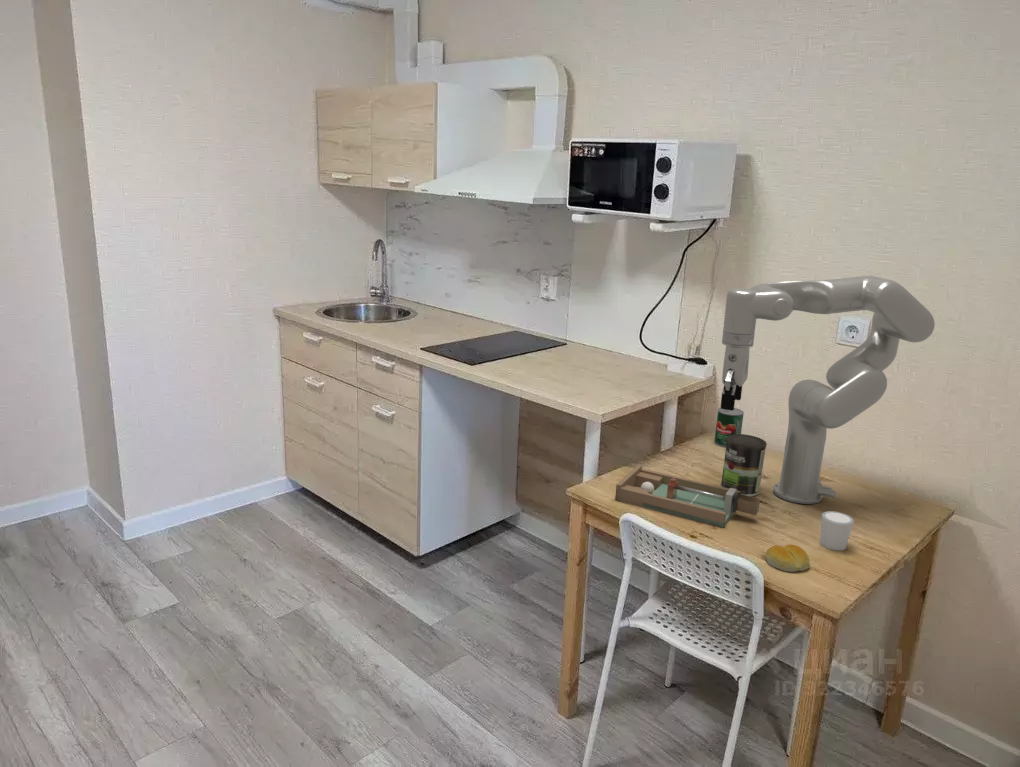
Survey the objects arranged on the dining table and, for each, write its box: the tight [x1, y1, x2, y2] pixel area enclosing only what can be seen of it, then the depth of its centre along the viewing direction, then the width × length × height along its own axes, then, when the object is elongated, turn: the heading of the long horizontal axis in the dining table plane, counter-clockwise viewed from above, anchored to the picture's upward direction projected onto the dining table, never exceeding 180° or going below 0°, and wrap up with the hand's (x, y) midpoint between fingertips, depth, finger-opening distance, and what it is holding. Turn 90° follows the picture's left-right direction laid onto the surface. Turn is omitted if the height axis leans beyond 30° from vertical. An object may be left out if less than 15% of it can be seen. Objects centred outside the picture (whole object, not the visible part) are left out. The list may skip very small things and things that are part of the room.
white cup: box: [819, 510, 855, 551], centre depth 172 cm, size 7×7×7 cm
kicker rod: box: [667, 478, 761, 516], centre depth 187 cm, size 22×5×4 cm, turn 60°
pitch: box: [614, 464, 741, 529], centre depth 191 cm, size 28×16×6 cm, turn 60°
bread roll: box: [765, 543, 811, 573], centre depth 163 cm, size 8×9×4 cm
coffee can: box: [720, 433, 768, 497], centre depth 200 cm, size 10×10×14 cm
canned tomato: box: [714, 407, 745, 448], centre depth 234 cm, size 8×8×11 cm
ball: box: [640, 482, 655, 494], centre depth 196 cm, size 4×4×4 cm
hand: (730, 404), depth 188 cm, fingers open, 9 cm apart
